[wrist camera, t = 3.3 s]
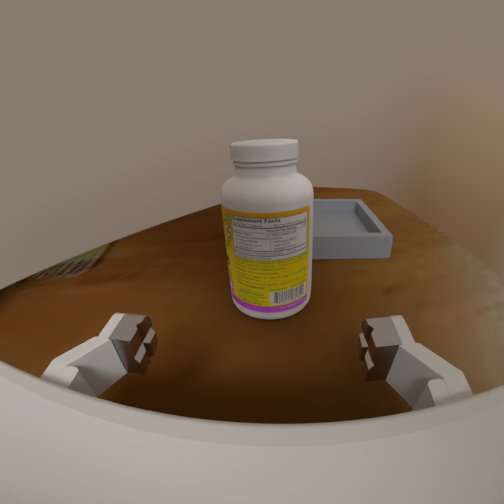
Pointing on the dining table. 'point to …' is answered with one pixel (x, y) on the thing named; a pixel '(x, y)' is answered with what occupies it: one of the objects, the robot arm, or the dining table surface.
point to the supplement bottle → (268, 229)
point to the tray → (348, 231)
